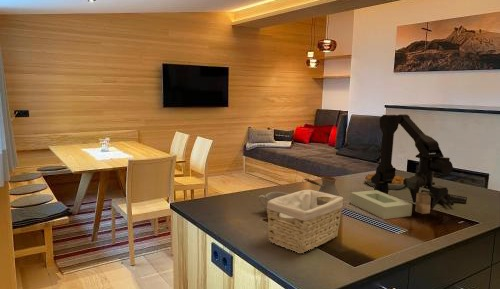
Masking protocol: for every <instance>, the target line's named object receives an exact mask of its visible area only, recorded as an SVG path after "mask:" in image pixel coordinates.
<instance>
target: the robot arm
mask: <svg viewBox="0 0 500 289" xmlns="http://www.w3.org/2000/svg"><path fill="white" fill-rule="evenodd" d="M399 125H400V126H401V127H402V128H403V130H404V131H405V132H406V133H407V135H408V136H410V137H411V139H412V140H413V141H414V146H415V148H416V149H417V151H418V154H416V155H415V158H416V159H417V158H418V160H419V162H418V170H416V172H415V173H414V175H413V176H410V177H404V178H405V179H404V180H403V185H405V186H404V187H405V188H407V189H408V190H409V191H410V195H411V199H412V202H413V203H412V204H416V195H417V193H420V189H421V188H422V189H424V190H427V191H430V193H431V194H429V195H430V197H431V202H430V210H434V208H435V207H436V205H437V204H438V203H439V200H440V198H441V197H442V196H445V195H447V194H449V188H448V187H447V186H442V185H435V184H436V182H434V181H433V180H434V176H436V175H437V174H439V175H445V176H448V175H450V174H451V173H452V171H453V169H454V167H453V163H452V161H451V159H450V157H444V154H443V152H442V150H441V148H440V146H439V142H438V141H437V140H435V138H433V137H432V136H429V135H427V134H426V133H425V132H423V131H422V130H421V128H420V127H419V126H418V124H416V123H415V122H414V121H413V119H411V116H410V115H408V114H401V113H400V114H382V115H381V116H380V118H379V129H380V131H381V132H382V133H381V134H382V138H381V149H380V150H381V153H380V162H379V164H378V165H377V167H376V169H375V175H374V176H373V177H372V178H371V183H374V187H373V190H378V191H380V192H383V193H385V194H388V195H389V189H388V184H389V183H390V184H391V183H392V181H393V179H394V176H395V175H396V171H397V168H396V167H394V166H393V164H392V163H393V162H392V160H393V148H394V138H395V137H394V136H395V133H396V132H397V130H398V129H399Z"/></svg>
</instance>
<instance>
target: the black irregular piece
mask: <svg viewBox="0 0 500 289" xmlns="http://www.w3.org/2000/svg"><path fill="white" fill-rule="evenodd" d="M422 192H424V193H427V194H431V193H430V190H428V189H421V191H420V193H422ZM467 199H468V197H467V196H462V195H456V194H450V193H448V194H447V195H445V196H442V197H441V198H440V200H439V201H438V203H440V204H442V205H445V206H447V207H448V206H449V205H450V206H454V205H455V203H458V204H459V203H460V204H466V203H467V201H468V200H467Z"/></svg>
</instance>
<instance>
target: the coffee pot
mask: <svg viewBox="0 0 500 289" xmlns="http://www.w3.org/2000/svg"><path fill="white" fill-rule="evenodd" d="M304 180H305V183H310V184H313V185H315V186H319V190H318V192H323V193H327V194H331V195H335V196H340V195H339V191H338V189H337V187H336V184H335V183H336V181H337V178H336V177H332V176H322V177H321V180H322V181H321V182H322V183H318V182H316V181H314V180H313V179H312V180H311V179H309V178H303V179H302V181H301V182H302V183H304ZM326 203H328V202H325V201H322V200H319V199H317V205H324V204H326Z"/></svg>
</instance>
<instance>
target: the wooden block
mask: <svg viewBox="0 0 500 289" xmlns="http://www.w3.org/2000/svg"><path fill="white" fill-rule="evenodd" d="M430 202H431V197H430V195H429V194H427V193H424V192H422V193H421V192H419V193H417V195H416V203H415V208H414V211H415V212H416V213H419V214H422V215H425V214H426V215H427V214H430V213H431V209H430Z"/></svg>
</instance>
